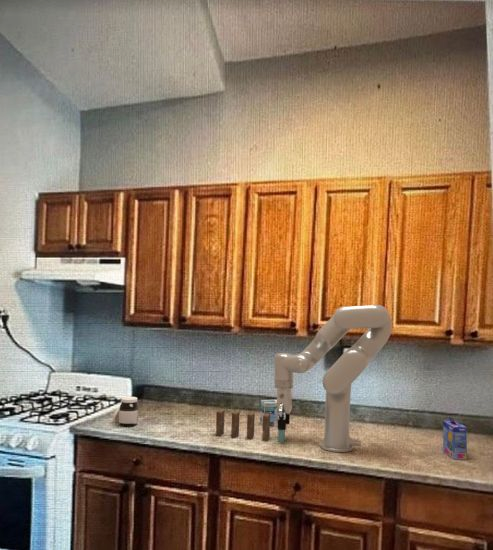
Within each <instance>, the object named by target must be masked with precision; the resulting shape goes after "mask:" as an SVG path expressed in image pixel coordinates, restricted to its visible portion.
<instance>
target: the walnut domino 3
mask: <svg viewBox="0 0 493 550" xmlns="http://www.w3.org/2000/svg"><path fill="white" fill-rule="evenodd" d="M255 414H256V412H255V411H249V412H248V413H247V415H246V418H247V419H246V440H249V439H250V440H253V438H255V417H256V415H255ZM250 440H249V441H250Z"/></svg>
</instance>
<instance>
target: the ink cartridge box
mask: <svg viewBox="0 0 493 550" xmlns="http://www.w3.org/2000/svg"><path fill="white" fill-rule="evenodd" d="M448 417H449V420H446V419H445V420H443V421H442V427H443V428H442V451H443V453H445V455H447V456H448V457H450V459H452V460H466V461H467V460H468V446H467V445H468V443H467V440H468V433H467V430H468V429H467V426H466V425H464V424H461V423H460V422H459V421H457V420H455V419H454V418H453V417H451V416H448Z"/></svg>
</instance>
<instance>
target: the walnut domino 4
mask: <svg viewBox="0 0 493 550" xmlns="http://www.w3.org/2000/svg"><path fill="white" fill-rule="evenodd" d="M270 432H271V427H270V413H265V414H264V415H263V426H262V435H261V436H262V441H263V442H268V441H269V439H270V436H271V435H270Z"/></svg>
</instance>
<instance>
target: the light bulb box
mask: <svg viewBox="0 0 493 550" xmlns="http://www.w3.org/2000/svg"><path fill="white" fill-rule="evenodd" d="M259 411H260V416H259V424H261V426H262V427H263V415H264V414H265V413H270V428H271V427H277V428H278V413H277V399H260V410H259Z"/></svg>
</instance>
